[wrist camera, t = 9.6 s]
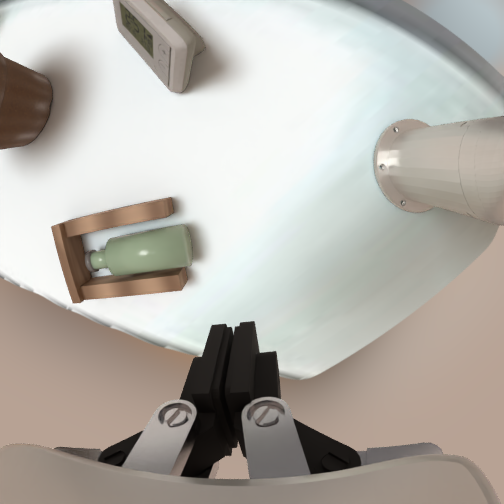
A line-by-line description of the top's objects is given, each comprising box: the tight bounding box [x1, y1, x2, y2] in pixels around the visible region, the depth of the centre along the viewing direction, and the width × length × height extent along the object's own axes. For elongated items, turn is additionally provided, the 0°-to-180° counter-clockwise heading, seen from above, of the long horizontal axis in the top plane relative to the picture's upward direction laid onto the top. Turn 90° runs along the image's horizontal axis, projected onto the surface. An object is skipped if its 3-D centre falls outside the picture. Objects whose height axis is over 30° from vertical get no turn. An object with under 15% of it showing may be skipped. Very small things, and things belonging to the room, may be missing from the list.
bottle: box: [85, 224, 193, 276], centre depth 34 cm, size 5×5×14 cm
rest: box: [51, 197, 188, 303], centre depth 34 cm, size 16×11×4 cm, turn 98°
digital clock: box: [113, 0, 205, 93], centre depth 24 cm, size 16×9×11 cm, turn 25°
